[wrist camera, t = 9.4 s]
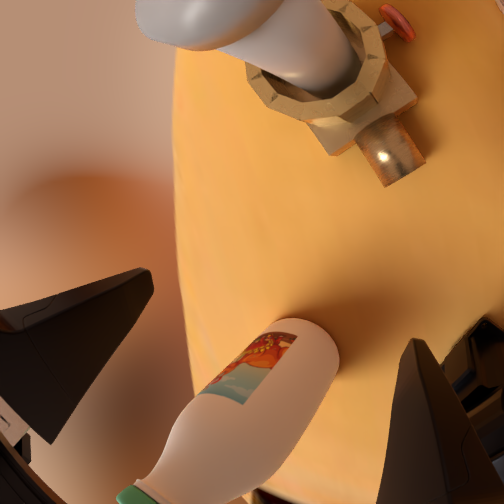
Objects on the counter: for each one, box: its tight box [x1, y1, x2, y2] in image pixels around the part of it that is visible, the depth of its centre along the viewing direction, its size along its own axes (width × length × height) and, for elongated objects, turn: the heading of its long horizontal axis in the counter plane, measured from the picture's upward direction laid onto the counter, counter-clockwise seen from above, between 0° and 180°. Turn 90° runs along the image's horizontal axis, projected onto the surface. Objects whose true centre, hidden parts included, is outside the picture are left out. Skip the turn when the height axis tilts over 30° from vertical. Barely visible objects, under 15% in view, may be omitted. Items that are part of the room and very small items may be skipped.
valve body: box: [245, 0, 426, 188], centre depth 14 cm, size 14×11×5 cm
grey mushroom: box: [135, 0, 361, 98], centre depth 10 cm, size 5×5×12 cm
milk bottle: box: [116, 318, 339, 504], centre depth 17 cm, size 8×8×20 cm
